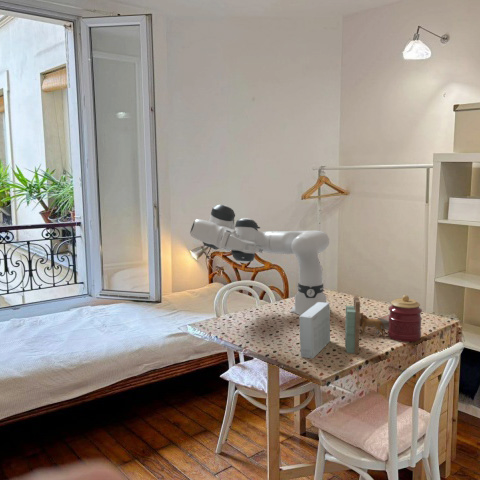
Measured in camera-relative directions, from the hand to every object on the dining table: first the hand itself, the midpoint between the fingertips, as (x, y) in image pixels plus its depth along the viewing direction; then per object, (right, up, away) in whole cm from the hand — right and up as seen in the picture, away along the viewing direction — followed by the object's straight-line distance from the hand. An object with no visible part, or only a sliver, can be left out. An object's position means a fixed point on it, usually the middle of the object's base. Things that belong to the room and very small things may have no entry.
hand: (260, 251), depth 198 cm
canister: (+59, -36, +9) cm, 70 cm away
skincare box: (+21, -38, -2) cm, 44 cm away
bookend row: (+35, -38, -3) cm, 51 cm away
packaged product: (+60, -34, +26) cm, 74 cm away
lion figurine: (+46, -35, +14) cm, 59 cm away
